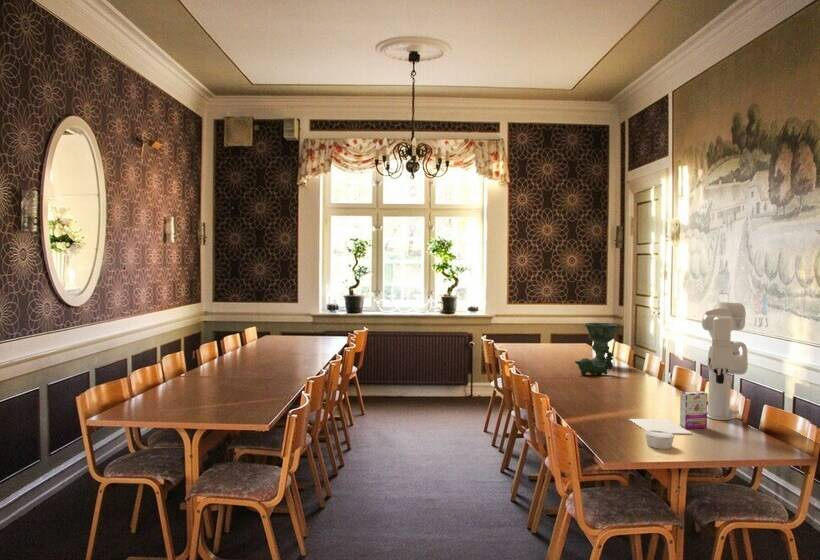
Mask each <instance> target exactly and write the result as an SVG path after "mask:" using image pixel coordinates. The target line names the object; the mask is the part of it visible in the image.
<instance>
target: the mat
mask: <svg viewBox="0 0 820 560" xmlns="http://www.w3.org/2000/svg"><path fill="white" fill-rule="evenodd" d="M629 420H630V421H629ZM628 421H629V422H631V421H632V422H633V423H632V422H631V423H632V424H634V423H635V424H636V425H635V424H634V425H635V426H637V425H638V426H639V428H640V427H641V428H642V430H643V429H644V430H645V431H644V430H643V431H644V432H646V431H651V430H656V431H664V432H668V433H671V434H673V435H693V433H692V432H691V431H689V430H687V429H685V428H683V427H680V424H679V425H678V424H677V423H675V422H673V421H672V420H670V419H668V418H629V419H628ZM638 426H637V427H638ZM641 428H640V429H641Z"/></svg>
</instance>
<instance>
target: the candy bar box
mask: <svg viewBox="0 0 820 560" xmlns="http://www.w3.org/2000/svg"><path fill="white" fill-rule="evenodd" d="M679 396H680V399H679V400H680V401H679V402H680V403H679V405H680V406H679V407H680V408H679V426H681V427H682V428H684V429H686V430H687V429H688V430H690V429H706V428H708V417H707V412H708V392H705V391H702V390H698V391H697V390H693V391H680V394H679Z"/></svg>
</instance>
